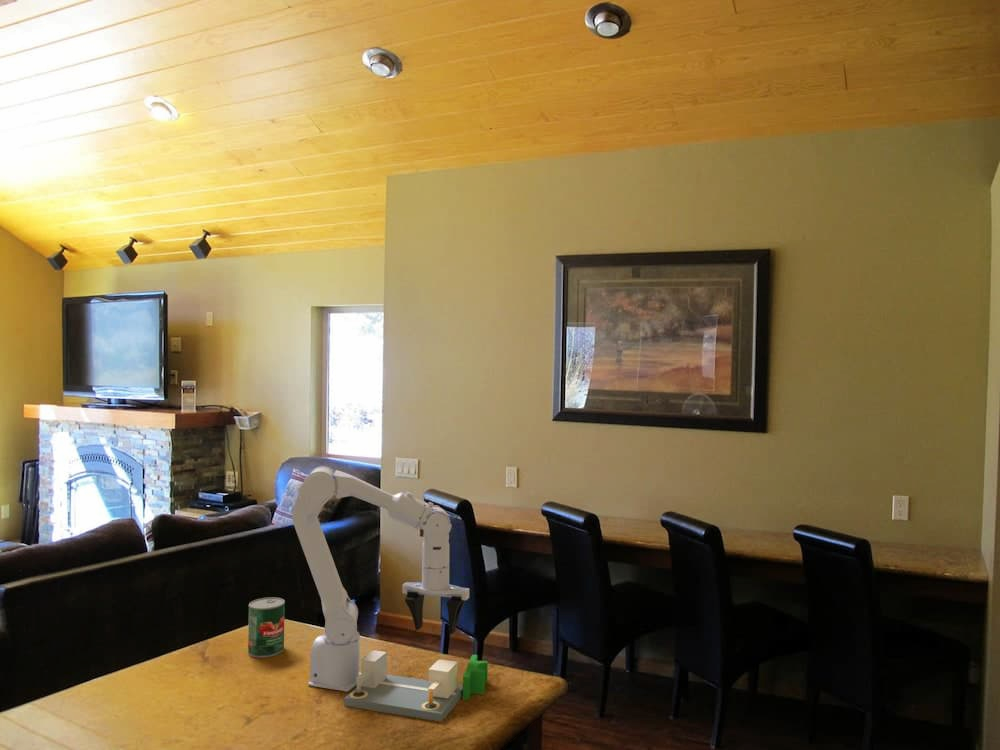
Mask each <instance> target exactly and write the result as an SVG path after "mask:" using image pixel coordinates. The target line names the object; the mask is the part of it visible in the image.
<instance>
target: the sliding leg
mask: <svg viewBox="0 0 1000 750" xmlns="http://www.w3.org/2000/svg"><path fill="white" fill-rule="evenodd" d="M458 662H459V661H453V660H449V659H448V660H446V659H437V660H436V661H435V662H434V663H433V664H432V666H431V667H429V668H428V681H429V688H428V696H429V705H432V704H433V696H434V697H441V698H447V699H448V698H449V697H450V696H451V694H452V693H453V692H454V691H455V690H456V689H457V688H458V685H459V684H458V683H459V682H458V678H459V677H458V676H459V675H458V673H459V671H458V668H459V667H458V665H459V664H458Z"/></svg>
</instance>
